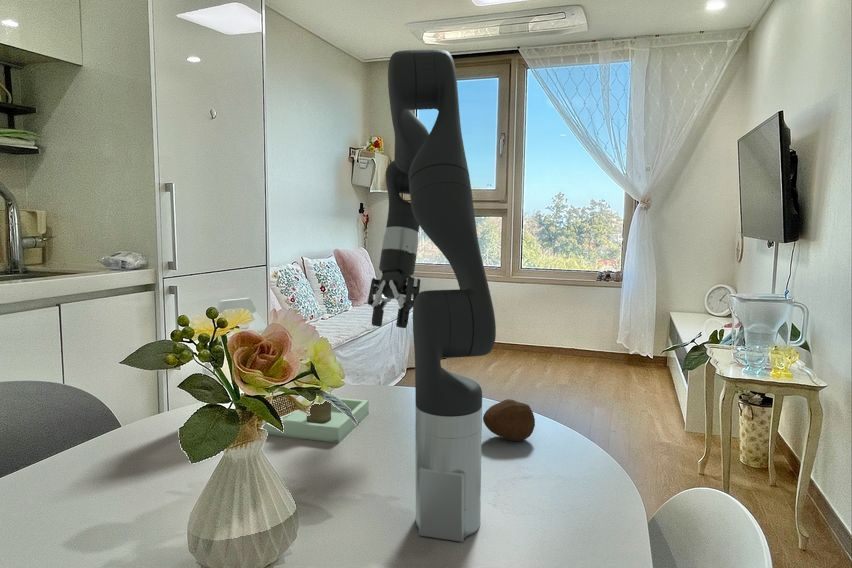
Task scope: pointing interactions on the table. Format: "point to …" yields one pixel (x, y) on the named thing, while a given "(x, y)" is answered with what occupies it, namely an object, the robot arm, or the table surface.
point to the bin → (326, 431)
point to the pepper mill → (320, 413)
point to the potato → (510, 420)
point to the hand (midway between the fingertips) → (388, 326)
